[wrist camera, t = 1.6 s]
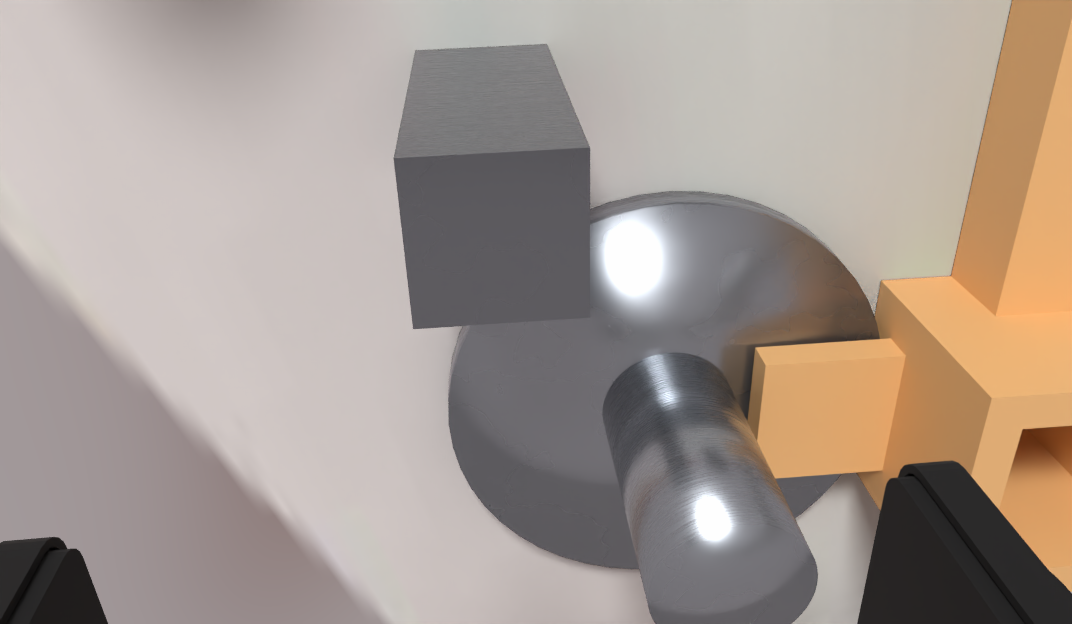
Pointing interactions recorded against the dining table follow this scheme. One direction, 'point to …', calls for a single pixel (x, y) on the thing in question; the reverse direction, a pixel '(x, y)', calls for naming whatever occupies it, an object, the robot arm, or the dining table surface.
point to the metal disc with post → (660, 406)
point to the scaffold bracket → (964, 327)
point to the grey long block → (493, 189)
